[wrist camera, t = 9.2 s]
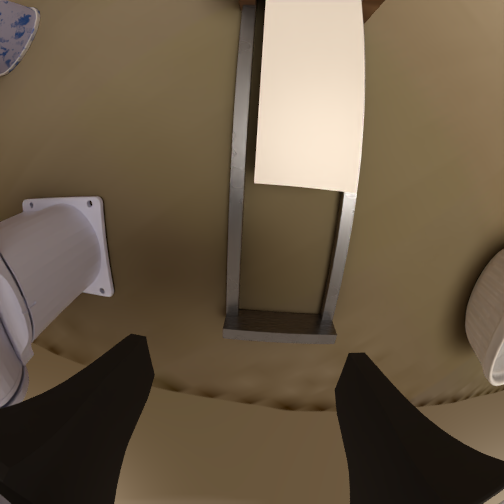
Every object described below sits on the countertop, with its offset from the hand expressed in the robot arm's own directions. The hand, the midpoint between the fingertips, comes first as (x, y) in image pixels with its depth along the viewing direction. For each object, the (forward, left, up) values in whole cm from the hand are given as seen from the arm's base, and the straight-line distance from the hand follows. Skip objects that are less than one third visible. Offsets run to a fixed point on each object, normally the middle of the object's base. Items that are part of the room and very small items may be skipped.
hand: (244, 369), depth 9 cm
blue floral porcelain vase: (-25, +21, -10) cm, 34 cm away
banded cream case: (+2, +13, -10) cm, 16 cm away
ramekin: (+25, -2, -10) cm, 27 cm away
